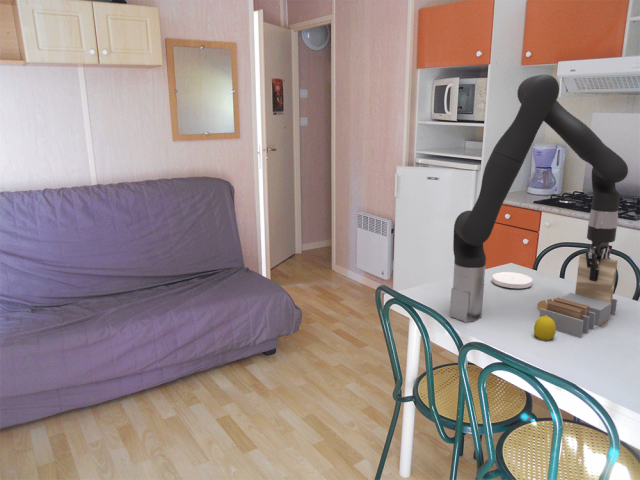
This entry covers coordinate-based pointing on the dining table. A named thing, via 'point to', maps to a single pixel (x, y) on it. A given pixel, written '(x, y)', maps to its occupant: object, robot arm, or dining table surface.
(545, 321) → the lemon
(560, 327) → the rack
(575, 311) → the offcut front
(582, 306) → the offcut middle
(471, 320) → the robot arm
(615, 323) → the dining table surface
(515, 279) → the plastic lid
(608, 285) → the wooden block
